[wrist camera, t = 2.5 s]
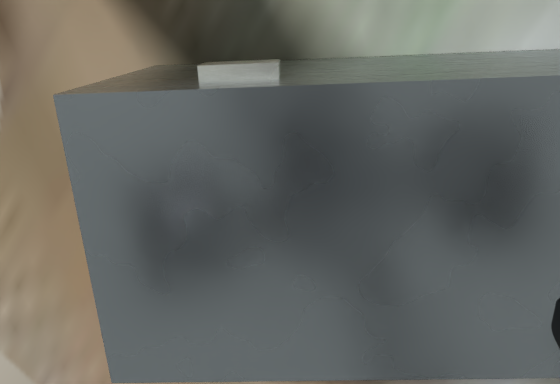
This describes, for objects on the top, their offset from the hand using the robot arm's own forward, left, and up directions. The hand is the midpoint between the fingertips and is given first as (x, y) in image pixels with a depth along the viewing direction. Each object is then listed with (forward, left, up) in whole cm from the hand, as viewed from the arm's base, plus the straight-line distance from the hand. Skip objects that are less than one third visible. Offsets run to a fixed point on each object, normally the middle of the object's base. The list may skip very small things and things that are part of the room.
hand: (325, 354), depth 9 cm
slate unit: (+1, -4, -11) cm, 12 cm away
